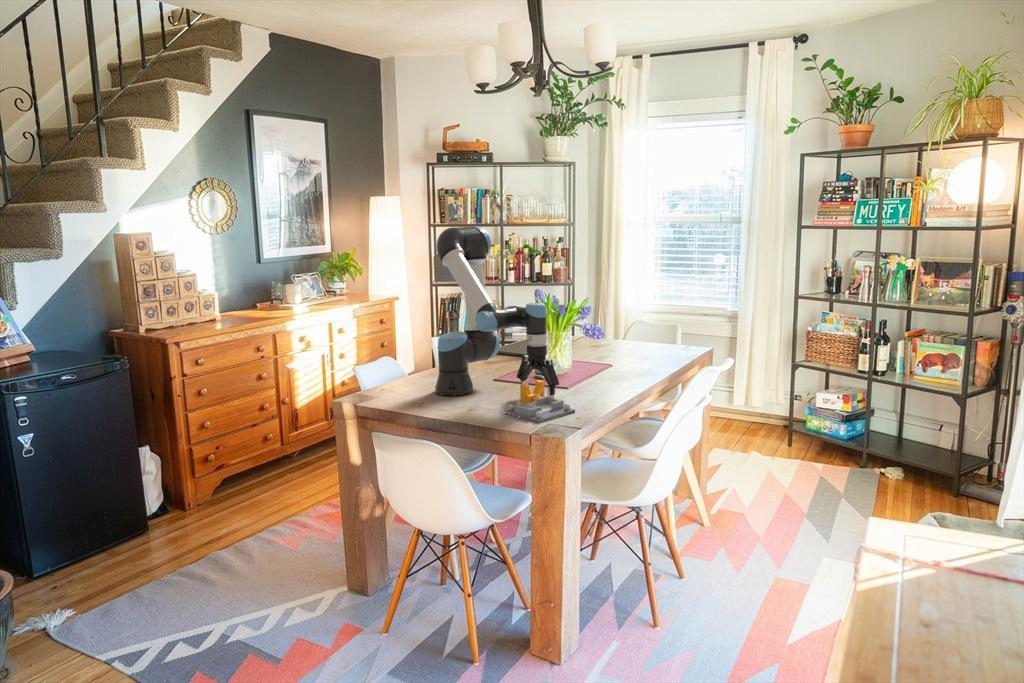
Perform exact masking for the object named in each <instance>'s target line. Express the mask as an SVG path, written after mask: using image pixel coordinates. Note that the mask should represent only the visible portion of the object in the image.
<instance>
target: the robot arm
mask: <svg viewBox="0 0 1024 683" xmlns="http://www.w3.org/2000/svg"><path fill="white" fill-rule="evenodd" d="M435 249H436V252H437V253H436V254H437V256H438V258H439V261H440V262H441V264H442V265H443V266H444V267H447V269H448V270H449V272H450V273H451V275H452V277H453V278H454V280H455V281H456V283H457V284H458V286H459V288H460V289H461V291H462V292H463V295H464V303H465V304H464V305H465V314H466V326H465V327H464V329H463V331H452V332H447V333H443V334H442V335H440V336H439V337H438V339H437V354H438V355H437V356H438V376H437V379H436V384H435V387H434V388H435V389H434V391H435V392H436V393H438V394H442V395H452V396H451V397H457V396H456V395H461V396H466V395H465V394H467V395H469V393H470V394H472V393H473V392H474V385H473V384H474V383H473V382H472V378H471V376H470V372H469V364H473V363H477V362H480V361H487V360H490V359H493V358H494V357H496V355H497V354H498V353H499V351H500V346H501V345H500V344H501V341H500V338H499V335H498V333H497V332H496V331H500V330H506V329H510V328H511V329H513V328H526V331H525V333H526V344H527V346H526V354H525V355H522V356H521V362H520V365H519V368H518V371H517V374H516V378H517V379H519V380H520V386H523V385H524V386H529V379H528V378H529V376H530V374H531V373H532V372H533V370H537V371H539V372H540V373H541V375H542V376H543V378H544V379H545V380H544V381H546V384H547V387H546V389H547V390H546V391H547V392H546V393H547V394H546V397H551V398H555V395H556V386H559V385H560V382H559V378H558V376H557V373H556V370H555V368H554V362H553V358H552V359H551V358H550V359H546V356H547V354H548V346H547V342H548V339H547V336H548V335H547V315H548V314H547V306H546V304H545V303H542V302H529V303H526V305H525V307H523V306H517V305H508V306H506V307H504V308H499V309H498V308H497V306H496V305H495V303H494V302H493V299H491V297H490V295H489V294H488V292H487V291H486V281H485V270H484V264H485V262H486V261H487V255H488V254H489V253H490V252H491V249H492V240H491V236H490V234H489V232H488V231H487V230H486V229H485V228H483V227H481V226H475V225H473V226H472V225H471V226H462V227H461V226H458V227H448V228H446V229H444V230H443V231H442V232H441V233H440V234H439V236H438V237H437V240H436V248H435ZM435 392H434V393H435ZM471 392H472V393H471ZM436 393H435V394H436ZM438 394H437V395H438ZM442 395H441V396H442Z"/></svg>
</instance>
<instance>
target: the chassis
mask: <svg viewBox="0 0 1024 683" xmlns="http://www.w3.org/2000/svg"><path fill="white" fill-rule="evenodd" d="M507 407H508V408H507V409H504V410H503V411H502V412H506V413H510V414H513V415H516V416H520V417H523V418H525V419H524V420H526V419H529V420H528V421H530V420H532V421H531V422H534V421H535V422H534V423H537V422H538V424H540V422H541V423H543V421H544V422H547V420H548V421H550V419H551V420H554V419H557V418H556V417H558V418H560V416H561V417H564V416H567V415H566V414H568V415H570V414H569V413H571V414H573V413H572V412H574V413H576V409H574V408H571V404H570V403H569V402H568V403H565V402H564V400H563V399H559V398H555V397H554V398H551V397H547V396H544V397H543V398H542V397H537V401H536V402H532V403H528V404H527V403H521V402H520V403H518V404H514V403H510V404H509V403H508V405H507ZM563 415H564V416H563ZM516 416H515V417H516ZM523 418H522V419H523ZM553 418H554V419H553Z"/></svg>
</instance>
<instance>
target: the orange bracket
mask: <svg viewBox="0 0 1024 683" xmlns="http://www.w3.org/2000/svg"><path fill="white" fill-rule="evenodd" d="M519 388H520V389H519V391H520V392H519V393H520V403H521V402H522V403H527V404H528V403H532V402H536V401H537V397H543V398H544V397H545V380H541V379H537V380H535V385H534V388H533V390H532V391H530V386H529V385H528V386H524V385H523V386H521V385H520V387H519Z"/></svg>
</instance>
